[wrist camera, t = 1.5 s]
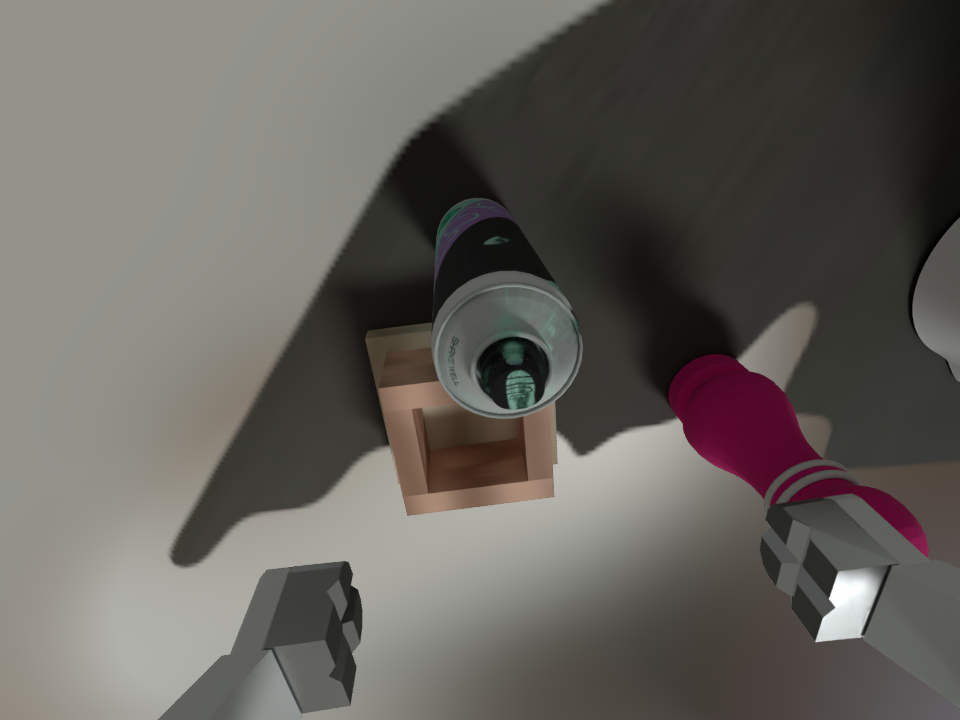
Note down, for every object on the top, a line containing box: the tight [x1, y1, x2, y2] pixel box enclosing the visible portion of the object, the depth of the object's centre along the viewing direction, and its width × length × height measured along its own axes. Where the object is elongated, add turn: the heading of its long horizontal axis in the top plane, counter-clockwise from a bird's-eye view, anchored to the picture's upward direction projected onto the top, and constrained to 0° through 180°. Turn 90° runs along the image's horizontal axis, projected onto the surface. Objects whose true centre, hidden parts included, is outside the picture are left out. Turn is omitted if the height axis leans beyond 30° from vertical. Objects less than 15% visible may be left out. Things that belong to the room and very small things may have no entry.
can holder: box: [365, 323, 557, 516], centre depth 35 cm, size 13×13×6 cm
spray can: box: [431, 198, 583, 419], centre depth 24 cm, size 6×6×20 cm
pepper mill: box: [668, 354, 929, 558], centre depth 31 cm, size 7×7×20 cm
